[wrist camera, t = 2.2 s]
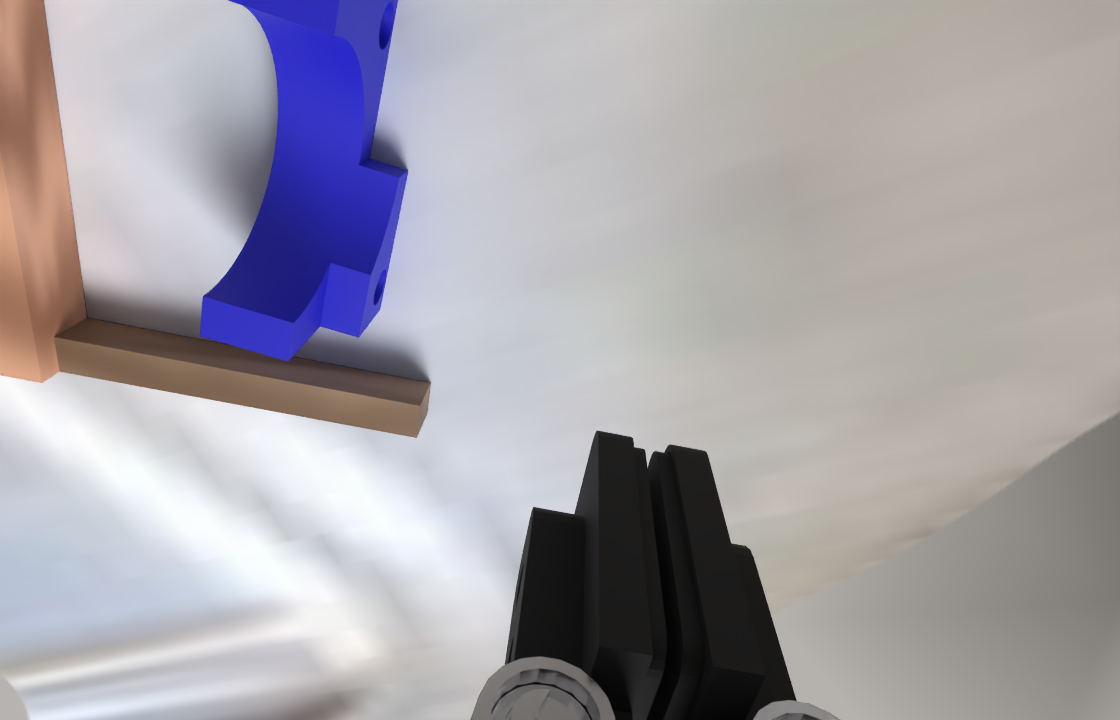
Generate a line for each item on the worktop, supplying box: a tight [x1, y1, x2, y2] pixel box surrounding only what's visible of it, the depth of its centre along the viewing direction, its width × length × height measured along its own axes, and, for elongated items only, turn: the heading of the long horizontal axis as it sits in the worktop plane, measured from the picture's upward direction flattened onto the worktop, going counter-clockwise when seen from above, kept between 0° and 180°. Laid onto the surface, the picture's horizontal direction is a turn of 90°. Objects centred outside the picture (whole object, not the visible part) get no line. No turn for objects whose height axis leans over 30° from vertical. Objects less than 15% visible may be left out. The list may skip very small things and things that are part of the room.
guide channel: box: [0, 0, 431, 438], centre depth 24 cm, size 21×17×3 cm
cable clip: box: [200, 0, 408, 361], centre depth 23 cm, size 12×4×6 cm, turn 163°
